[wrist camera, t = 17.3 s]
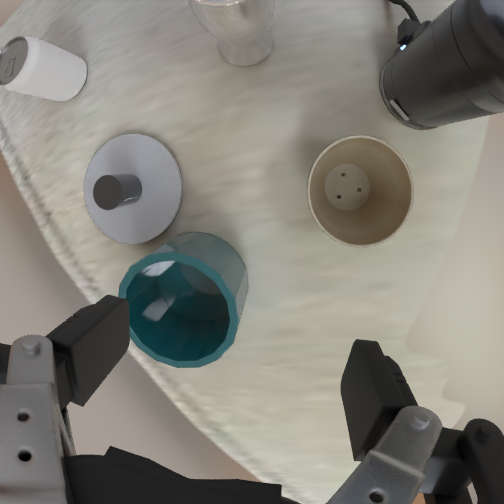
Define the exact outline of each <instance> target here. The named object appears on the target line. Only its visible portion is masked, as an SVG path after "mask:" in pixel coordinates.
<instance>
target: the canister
mask: <svg viewBox="0 0 504 504" xmlns="http://www.w3.org/2000/svg"><path fill="white" fill-rule="evenodd" d="M247 291H248V276H247V271H246V268H245V265H244V263H243V261H242V259H241V257H240V256H239V254H238V253H237V252H236V250H235V249H234V248H233V247H232V246H231V245H229V244H228V243H227V242H225V241H224V240H222V239H221V238H219V237H217V236H214V235H211V234H208V233H202V232H190V233H185V234H180V235H178V236H176V237H174V238H173V239H171V240H170V241H168V242H166V243H165V244H163V245H162V246H160V247H159V248H157V249H156V250H154V251H153V252H151V253H150V254H148V255H147V256H145V257H144V258H142V259H141V260H139V261H138V262H136V263H135V264H133V265H132V266H131V267H130V268H129V270H128V272H127V273H126V275H125V277H124V278H123V280H122V282H121V283H120V286H119V295H118V297H120V298H124V299H127V300H128V303H129V326H130V337H131V339H132V340H133V342H134V343H135V344H136V346H137V347H138V348H140V349H141V350H142V351H144V352H145V353H146V354H148V355H149V356H150V357H152V358H153V359H154V360H156V361H159V362H162V363H165V364H168V365H171V366H174V367H177V368H194V367H201V366H204V365H206V364H209V363H211V362H213V361H216V360H218V359H219V358H220V357H221V356H222V355H223V354H224V353H225V352H226V351H227V350H228V349H229V348H230V346H231V345H232V344H233V343H234V339H235V336H236V332H237V329H238V325H239V321H240V318H241V314H242V310H243V306H244V303H245V299H246V295H247Z"/></svg>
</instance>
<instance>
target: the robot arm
mask: <svg viewBox="0 0 504 504" xmlns="http://www.w3.org/2000/svg"><path fill="white" fill-rule="evenodd" d="M389 1H390V2H392V3H395V4H398V5H401V6H402V7H403V8H404V9H405V10H406V12H407V13H408V15H409V17H410V19H411V20H410V19H407V18H405V19H404V20H403V21H402V23H401V24H400V25H399V26H398V44H401V45H400V46H399V47H398V48H397V49H396V50H395V51H394V57H392V58H391V59H390V60H389V61H388V62H387V63H386V64H385V66H384V67H383V69H382V72H381V75H380V90H381V95H382V97H383V100H384V102H385V104H386V106H387V108H388V109H389V110H390V112H391V113H392V114H393V115H394V116H395V117H396V118H397V119H398V120H399V121H400V122H402V123H403V124H405V125H407V126H409V127H411V128H414V129H419V130H428V129H433V128H436V127H438V126H441V125H446V124H450V123H455V122H459V121H464V120H468V119H473V118H478V117H482V116H487V115H492V114H497V113H502V112H504V0H455V1H454V2H453V3H452V4H451V5H450V6H449V7H448V8H446V9H445V10H444V11H443V12H442V13H441V14H440V15H439V16H438V17H437V18H436V19H434V20H433V21H432V22H431V21H425V22H423V23H422V24H421V23H420V22H419V20H418V18H417V16H416V14H415V13H414V11H413V9H412V8H411V7H410V6H409V5H408V4H407V3H406V2H405V1H404V0H389ZM129 342H130V326H129V303H128V300H127V299H124V298H120V297H116V296H112V295H106V296H105V297H103V298H102V299H101V300H100V301H98V302H97V303H96V304H92V305H89V306H87V307H84V308H82V309H80V310H79V311H77V312H76V313H75V314H73V316H71V317H69V318H68V319H67V320H66V322H65V321H64V322H63V323H62V324H60V325H59V326H58V327H57V328H55V329H54V330H53V331H52V332H50V333H49V334H48V335H47V336H45V337H44V336H41V335H27V336H23V337H20V338H19V339H17V340H16V341H14V342H13V344H12V345H7V344H1V343H0V504H300V503H298V502H296V501H293V500H291V499H288V498H285V497H282V496H281V489H282V485H280V484H270V483H262V482H254V481H247V480H240V479H221V480H220V479H219V480H218V479H217V480H216V479H215V480H209V479H189V478H186V477H184V476H182V475H180V474H178V473H176V472H174V471H172V470H170V469H168V468H166V467H164V466H161V465H160V464H158V463H156V462H154V461H152V460H150V459H148V458H145V457H142V456H139V455H135V454H132V453H129V452H127V451H124V450H121V449H118V448H115V447H112V446H110V447H109V449H108V450H107V452H106V454H105V455H104V456H103V455H76V452H75V447H74V442H73V438H72V432H71V427H70V421H69V415H68V410H67V405H68V404H69V402H73V403H75V404H78V405H80V406H82V407H83V406H84V405H85V403H86V402H87V401H88V400H89V398H90V397H91V396H92V394H93V393H94V392H95V391H96V389H97V388H98V387H99V386H100V384H101V383H102V381H103V380H104V379H105V378H106V377H107V375H108V374H109V373H110V372H111V370H112V369H113V368H114V367H115V365H116V364H117V363H118V362H119V360H120V359H121V358H122V357H123V355H124V354H125V353H126V351H127V349H128V346H129ZM406 382H407V381H406V379H405V377H404V376H403V373H402V371H401V369H400V367H399V365H398V364H397V363H396V362H395V361H394V360H392V359H391V358H390V357H389V356H384V354H383V352H382V350H381V348H380V346H379V344H378V342H377V341H369V340H359V339H356V340H355V342H354V343H353V346H352V349H351V352H350V355H349V358H348V361H347V364H346V367H345V370H344V373H343V376H342V380H341V396H342V401H343V405H344V410H345V415H346V420H347V426H348V431H349V436H350V441H351V447H352V452H353V458H354V461H362V462H361V463H360V464H359V465H358V467H357V468H356V469H355V470H354V472H353V473H352V474H351V475H350V477H349V478H348V479H347V480H346V481H345V483H344V484H343V485H342V486H341V487H340V488H339V489H338V491H337V492H336V493H335V494H334V495H333V496H332V497H331V498H330V500H329V501H328V502H327V503H326V504H412V503H413V501H414V499H415V497H416V496H417V494H418V492H419V493H423V494H424V499H425V503H426V504H473V503H472V500H471V497H470V494H469V492H468V488H467V486H469V484H470V483H471V482H473V486H474V488H475V491H476V494H477V498H478V502H477V504H504V435H503V434H502V432H501V430H500V429H499V428H498V427H497V426H496V425H495V424H494V423H492V422H490V421H488V420H485V419H473V420H471V421H469V422H468V424H467V425H466V427H465V428H464V430H463V431H460V430H454V429H449V428H444V427H442V423H441V421H440V419H439V417H438V416H437V415H436V414H435V413H433V412H432V411H430V410H429V409H426V408H424V407H420V406H418V404H417V402H416V400H415V398H414V396H413V394H412V392H411V390H410V387H409V385H408V383H406Z"/></svg>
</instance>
